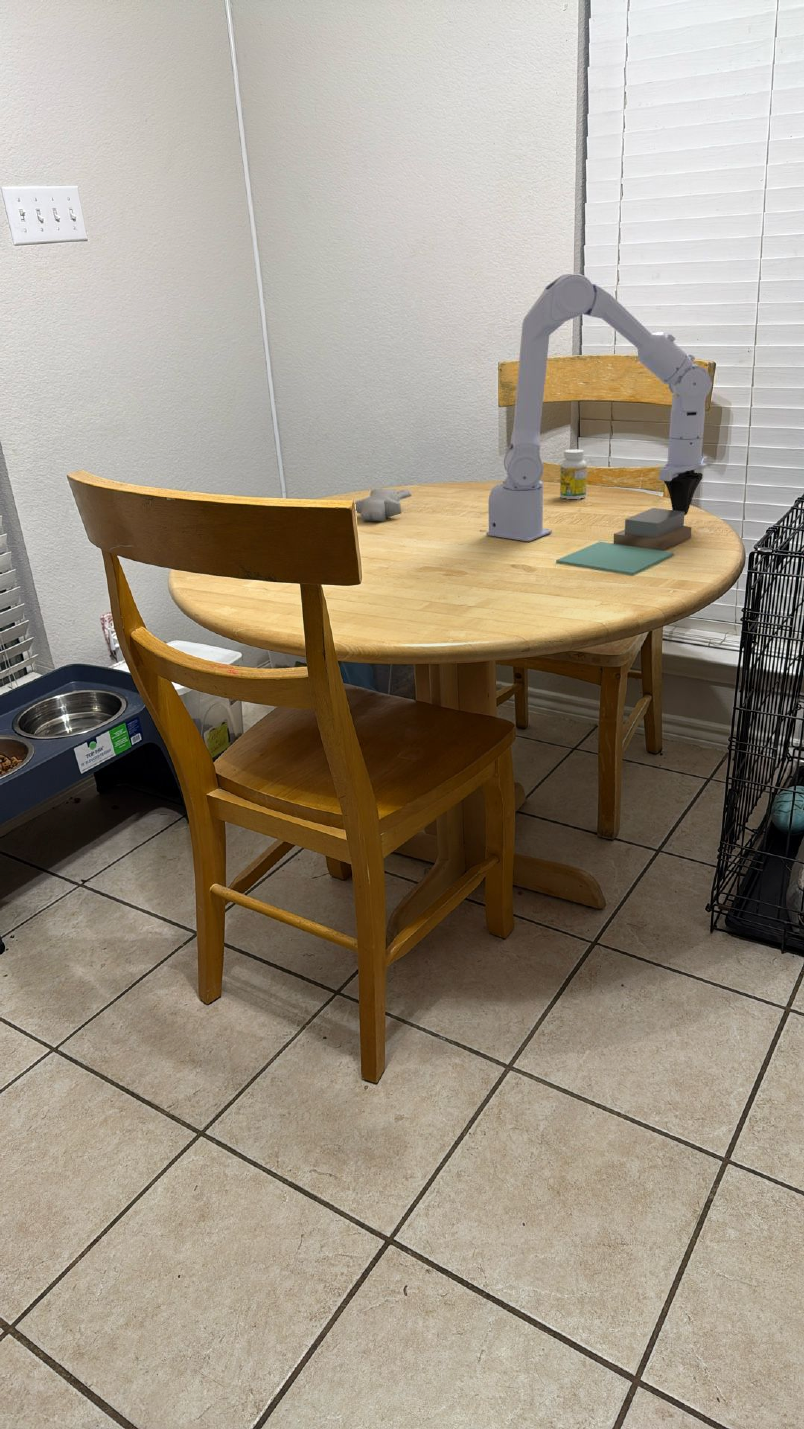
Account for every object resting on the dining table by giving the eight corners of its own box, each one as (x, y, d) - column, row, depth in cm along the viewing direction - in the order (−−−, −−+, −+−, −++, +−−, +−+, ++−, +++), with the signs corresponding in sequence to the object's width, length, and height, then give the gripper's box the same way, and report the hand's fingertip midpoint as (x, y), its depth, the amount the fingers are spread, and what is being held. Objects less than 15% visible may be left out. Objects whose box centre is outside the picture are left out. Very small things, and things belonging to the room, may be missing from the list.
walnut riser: (613, 545, 168) (613, 533, 167) (643, 531, 175) (644, 520, 174) (661, 552, 162) (662, 540, 161) (690, 538, 170) (691, 526, 169)
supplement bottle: (590, 498, 203) (592, 451, 199) (568, 501, 201) (569, 453, 197) (577, 493, 207) (578, 447, 203) (555, 496, 206) (556, 450, 202)
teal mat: (556, 562, 159) (556, 560, 159) (599, 543, 169) (599, 541, 169) (632, 575, 151) (633, 572, 151) (674, 554, 160) (674, 552, 160)
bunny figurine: (346, 503, 190) (372, 479, 202) (349, 528, 193) (374, 503, 205) (391, 504, 187) (415, 480, 199) (394, 530, 190) (417, 504, 202)
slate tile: (624, 533, 167) (625, 519, 166) (652, 521, 173) (653, 507, 172) (656, 538, 163) (657, 523, 162) (683, 525, 170) (684, 511, 169)
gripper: (688, 444, 162) (682, 525, 167) (725, 432, 171) (718, 509, 177) (650, 441, 166) (645, 520, 171) (688, 430, 176) (682, 504, 181)
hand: (680, 514), depth 175 cm, fingers closed
